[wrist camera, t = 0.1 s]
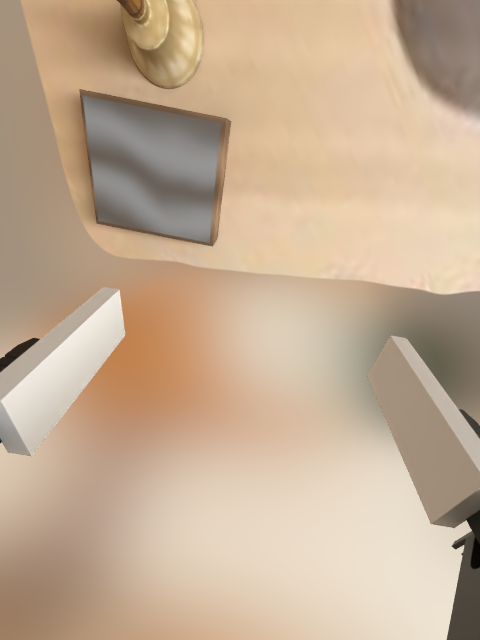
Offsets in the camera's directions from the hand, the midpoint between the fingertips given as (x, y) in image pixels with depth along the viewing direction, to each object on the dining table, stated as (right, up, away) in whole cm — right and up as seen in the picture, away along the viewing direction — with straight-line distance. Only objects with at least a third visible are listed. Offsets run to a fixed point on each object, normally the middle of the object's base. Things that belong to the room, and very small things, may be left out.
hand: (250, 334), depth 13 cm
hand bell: (-8, +31, +15) cm, 35 cm away
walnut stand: (-11, +20, +22) cm, 31 cm away
